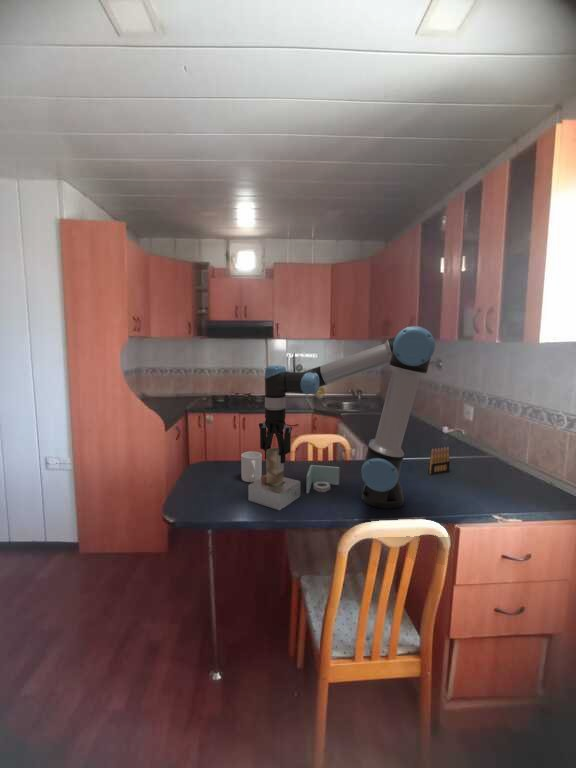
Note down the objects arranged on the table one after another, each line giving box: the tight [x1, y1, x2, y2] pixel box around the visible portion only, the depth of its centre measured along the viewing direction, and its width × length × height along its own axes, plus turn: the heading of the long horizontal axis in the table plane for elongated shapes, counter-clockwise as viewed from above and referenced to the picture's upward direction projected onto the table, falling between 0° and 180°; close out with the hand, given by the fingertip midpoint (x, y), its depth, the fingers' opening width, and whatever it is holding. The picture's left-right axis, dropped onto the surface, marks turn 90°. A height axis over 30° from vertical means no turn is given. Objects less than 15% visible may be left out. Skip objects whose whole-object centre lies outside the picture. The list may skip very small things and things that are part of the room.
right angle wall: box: [305, 464, 340, 494], centre depth 147 cm, size 12×12×8 cm
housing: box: [247, 474, 301, 511], centre depth 137 cm, size 14×14×8 cm
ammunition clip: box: [427, 446, 451, 476], centre depth 165 cm, size 11×2×12 cm, turn 112°
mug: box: [240, 451, 263, 483], centre depth 154 cm, size 9×12×11 cm
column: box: [265, 446, 284, 488], centre depth 136 cm, size 5×5×16 cm
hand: (274, 469), depth 136 cm, fingers closed on column, 4 cm apart
